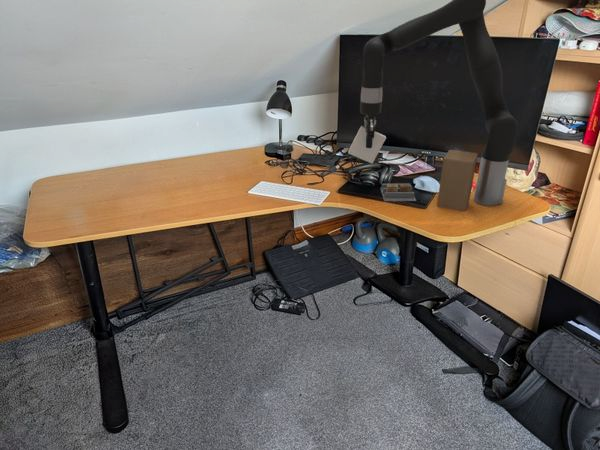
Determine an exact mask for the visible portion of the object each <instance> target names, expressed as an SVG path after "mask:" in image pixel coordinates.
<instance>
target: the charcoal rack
mask: <svg viewBox="0 0 600 450" xmlns="http://www.w3.org/2000/svg"><path fill="white" fill-rule="evenodd" d="M387 185H398V192H386V189H387ZM400 185H411V183H381V187H380V191H381V195H382V199H383V201H384V202H416V201H417V199H416V197H415V192H414V191H413V187H412V188H411V192H399V191H400ZM411 186H412V185H411Z"/></svg>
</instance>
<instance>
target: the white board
mask: <svg viewBox="0 0 600 450" xmlns="http://www.w3.org/2000/svg"><path fill="white" fill-rule="evenodd" d="M369 135H372V134H369ZM386 139H387V137H386V135H384V134H382V133H380V132H377V131H375V133H374V138H373V139H372V148H366V131H365V127H364V126H363V125H361V126H360V127H359V129H358V130H357V134H356V135H355V137H354V139H353V141H352V143H351V145H350V147H349V148H348V151H347V152H348V155H352V156H354V157H355V158H358V159H360V160H362V161H364V162H368V163H370V164H374V161H375V159H376V158H377V156H378V154H379V153H380V150H381V148H382V146H383V144H384V143H385V141H386Z"/></svg>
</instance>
